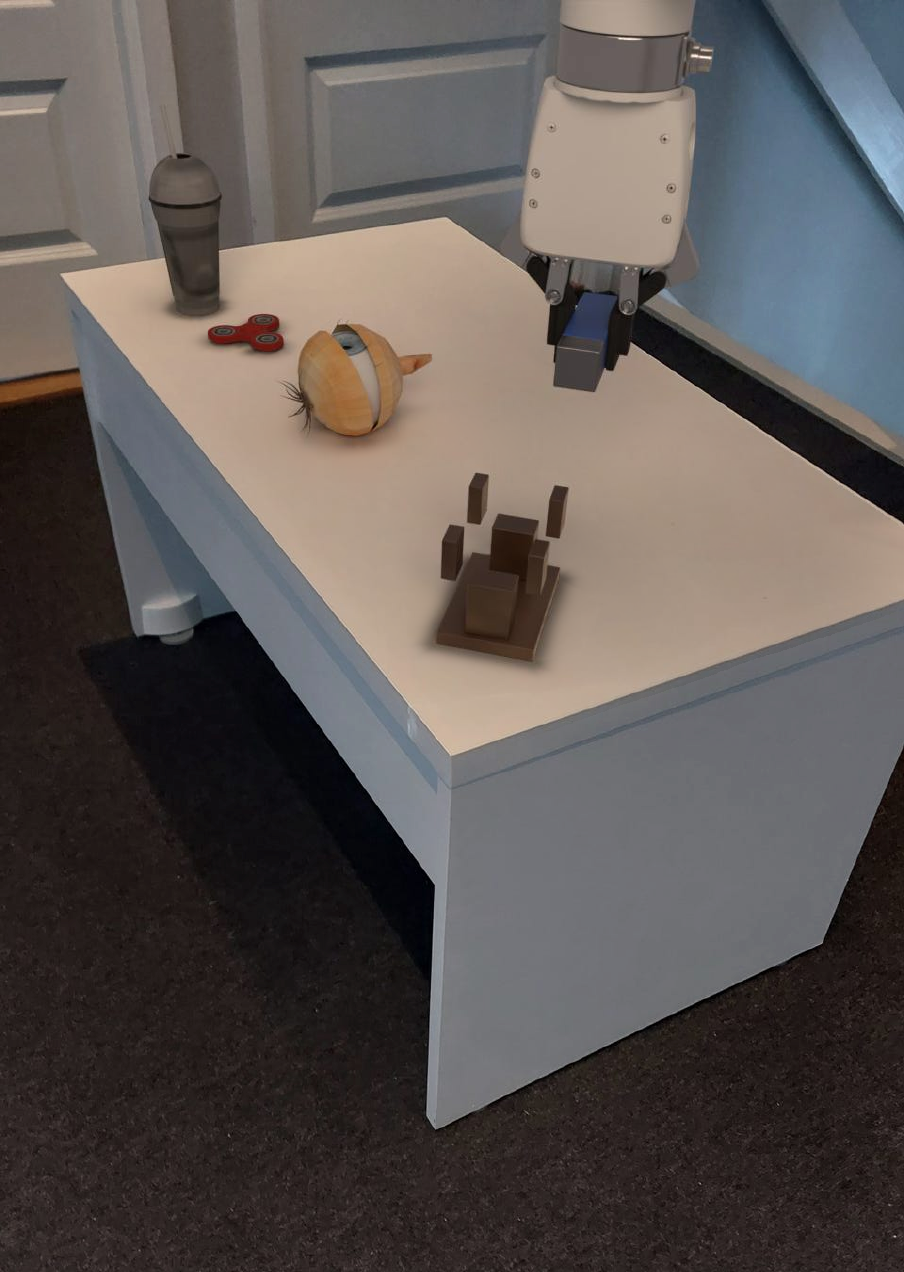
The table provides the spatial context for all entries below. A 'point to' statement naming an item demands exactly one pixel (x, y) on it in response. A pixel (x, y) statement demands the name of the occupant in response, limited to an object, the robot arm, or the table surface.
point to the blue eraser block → (584, 344)
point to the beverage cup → (188, 227)
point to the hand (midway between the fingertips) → (586, 357)
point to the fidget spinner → (250, 333)
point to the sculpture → (351, 379)
